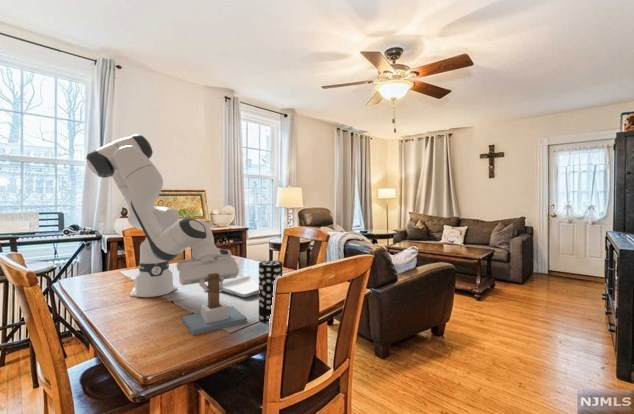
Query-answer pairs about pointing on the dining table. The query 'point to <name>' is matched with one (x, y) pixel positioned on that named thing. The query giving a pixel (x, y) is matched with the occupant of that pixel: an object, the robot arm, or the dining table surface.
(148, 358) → the dining table surface
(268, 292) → the white-spotted black cylinder
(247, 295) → the salad plate
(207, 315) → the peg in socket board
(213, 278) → the brown wooden peg
